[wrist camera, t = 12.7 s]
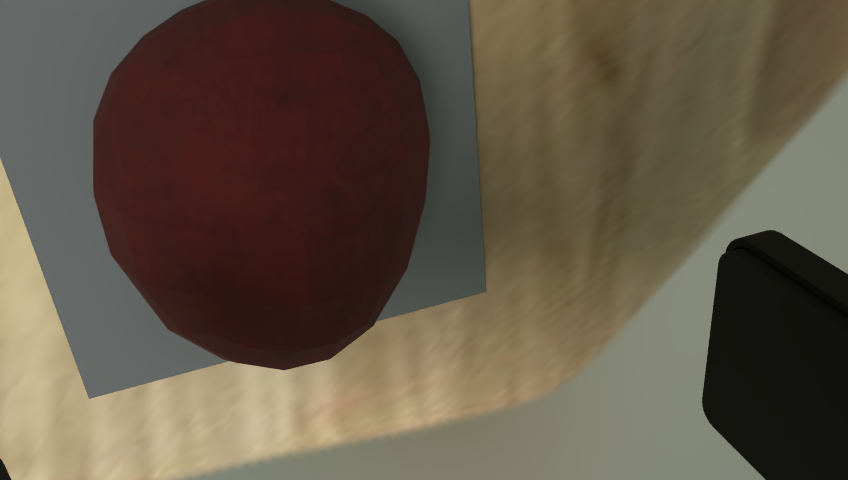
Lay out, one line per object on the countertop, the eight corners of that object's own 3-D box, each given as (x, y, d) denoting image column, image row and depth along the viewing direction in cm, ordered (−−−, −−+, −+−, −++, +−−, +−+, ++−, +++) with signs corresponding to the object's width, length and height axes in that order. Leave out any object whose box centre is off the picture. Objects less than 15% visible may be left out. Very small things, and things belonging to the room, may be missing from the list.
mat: (-69, -62, 17) (-79, -58, 16) (445, -126, 20) (460, -124, 19) (89, 378, 23) (88, 398, 22) (474, 277, 26) (486, 291, 25)
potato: (426, 14, 21) (529, 68, 15) (337, 313, 24) (400, 441, 18) (121, -74, 17) (125, -41, 12) (63, 284, 20) (47, 430, 15)
